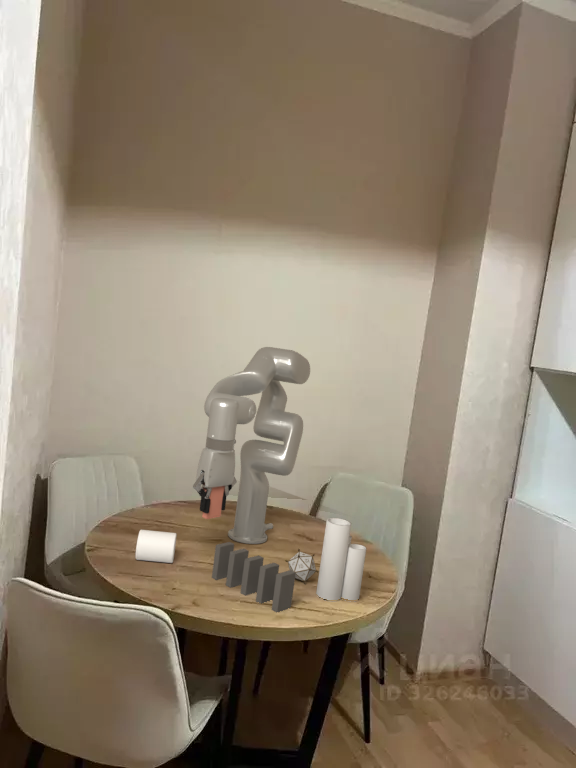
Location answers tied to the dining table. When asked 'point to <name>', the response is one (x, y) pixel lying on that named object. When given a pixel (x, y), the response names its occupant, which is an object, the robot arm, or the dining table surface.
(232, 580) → the dark gray domino tile
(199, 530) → the dining table surface
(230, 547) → the black tile
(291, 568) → the game die
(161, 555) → the mug
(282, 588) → the grey domino block
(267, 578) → the black tile
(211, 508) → the red tile
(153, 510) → the dining table surface
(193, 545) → the dining table surface
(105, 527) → the dining table surface
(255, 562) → the black tile
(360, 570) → the vase
